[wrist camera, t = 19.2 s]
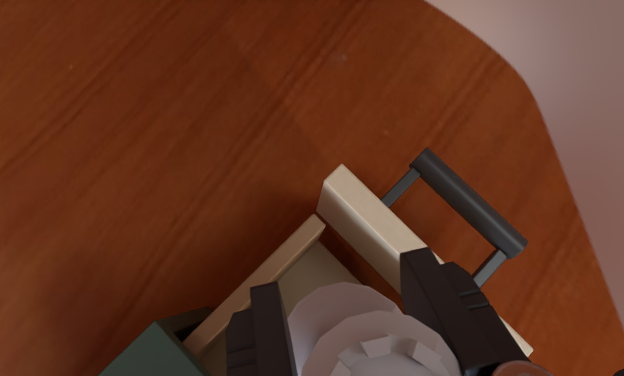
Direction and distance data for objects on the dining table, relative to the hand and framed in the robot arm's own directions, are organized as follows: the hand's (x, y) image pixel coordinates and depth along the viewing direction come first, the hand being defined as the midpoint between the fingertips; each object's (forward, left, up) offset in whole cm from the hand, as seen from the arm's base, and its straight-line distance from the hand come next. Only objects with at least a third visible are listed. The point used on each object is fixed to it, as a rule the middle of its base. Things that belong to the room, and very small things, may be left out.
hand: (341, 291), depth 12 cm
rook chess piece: (0, +2, -4) cm, 5 cm away
